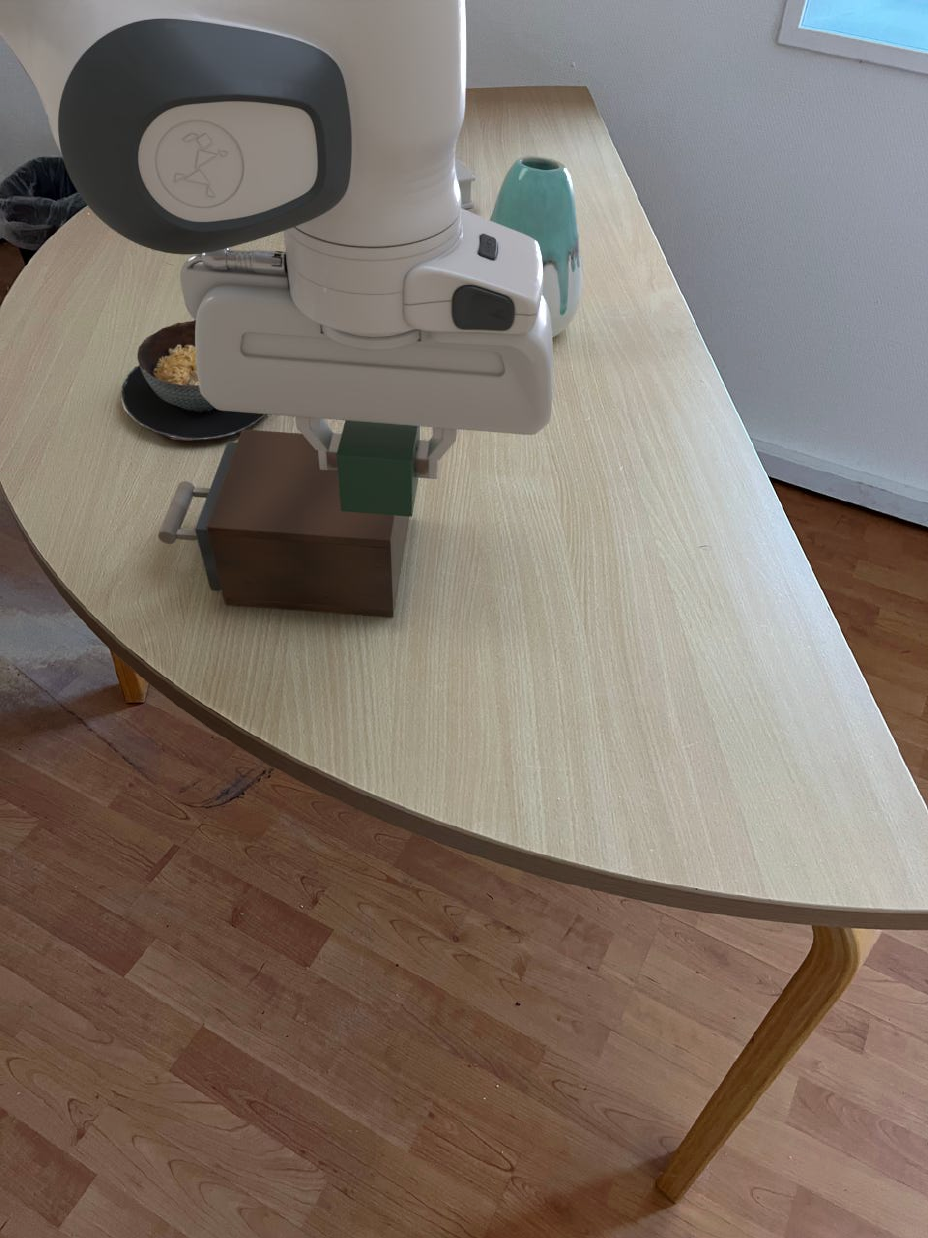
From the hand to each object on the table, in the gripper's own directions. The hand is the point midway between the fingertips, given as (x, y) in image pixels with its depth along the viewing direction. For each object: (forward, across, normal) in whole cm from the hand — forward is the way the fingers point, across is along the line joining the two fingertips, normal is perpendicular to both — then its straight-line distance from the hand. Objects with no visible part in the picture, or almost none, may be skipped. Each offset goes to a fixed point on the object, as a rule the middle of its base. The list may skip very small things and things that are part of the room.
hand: (380, 468), depth 58 cm
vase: (+18, +9, +47) cm, 51 cm away
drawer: (+17, -11, +9) cm, 22 cm away
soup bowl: (+18, -22, +30) cm, 42 cm away
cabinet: (+18, -7, +9) cm, 22 cm away
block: (+2, 0, 0) cm, 2 cm away
